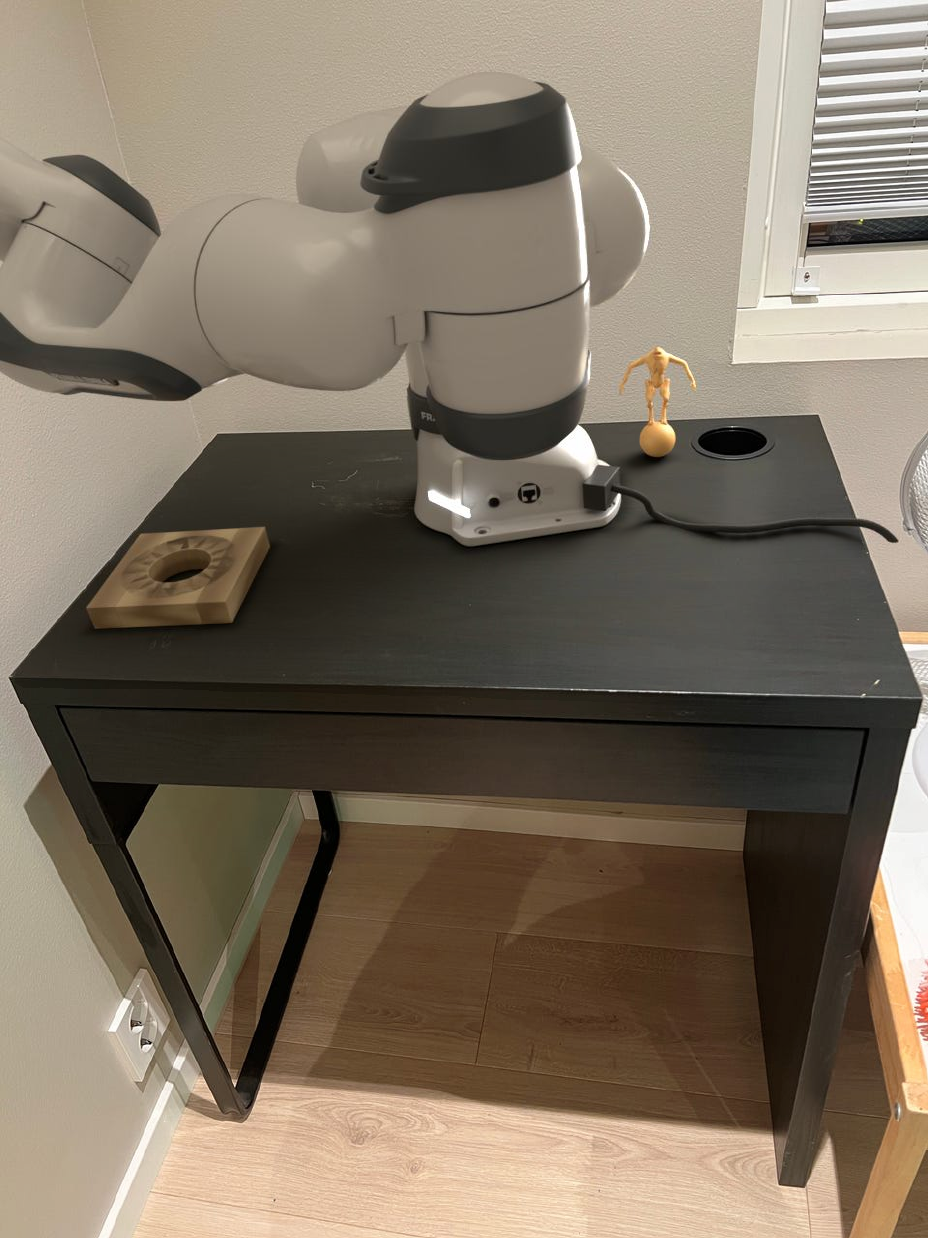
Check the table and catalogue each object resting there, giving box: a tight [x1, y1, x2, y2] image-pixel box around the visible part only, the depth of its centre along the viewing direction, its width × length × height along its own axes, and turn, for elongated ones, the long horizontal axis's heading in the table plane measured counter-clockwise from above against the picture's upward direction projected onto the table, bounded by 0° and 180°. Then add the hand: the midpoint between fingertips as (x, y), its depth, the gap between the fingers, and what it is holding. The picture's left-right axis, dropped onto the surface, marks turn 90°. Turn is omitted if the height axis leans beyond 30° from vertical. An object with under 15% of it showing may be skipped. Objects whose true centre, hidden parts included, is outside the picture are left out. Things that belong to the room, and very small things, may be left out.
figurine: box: [619, 346, 697, 458], centre depth 103 cm, size 8×6×12 cm
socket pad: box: [85, 526, 271, 630], centre depth 94 cm, size 14×14×2 cm
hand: (199, 334), depth 99 cm, fingers closed on chess pawn, 3 cm apart
